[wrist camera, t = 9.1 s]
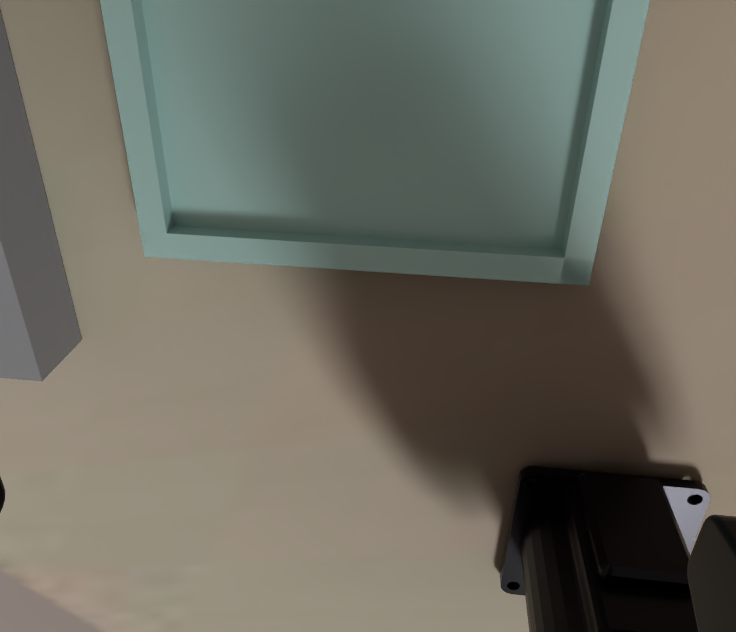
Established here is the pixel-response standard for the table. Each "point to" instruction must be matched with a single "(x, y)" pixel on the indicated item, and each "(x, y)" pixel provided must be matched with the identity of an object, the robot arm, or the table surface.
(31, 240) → the pdu strip
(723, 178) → the table surface
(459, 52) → the tray
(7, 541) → the table surface
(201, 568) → the table surface
